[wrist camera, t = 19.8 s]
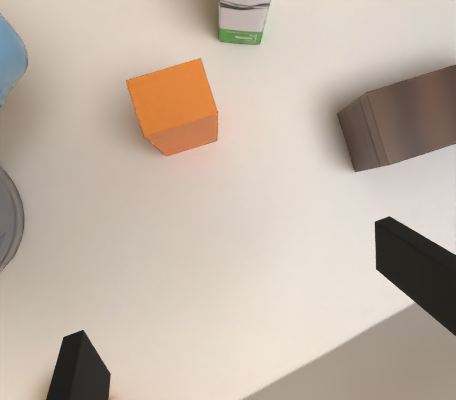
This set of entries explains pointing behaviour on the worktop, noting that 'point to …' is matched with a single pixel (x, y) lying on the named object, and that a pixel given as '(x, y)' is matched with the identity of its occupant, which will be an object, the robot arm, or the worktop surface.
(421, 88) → the shelf
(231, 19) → the ink box
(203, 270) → the worktop surface
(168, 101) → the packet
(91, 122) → the worktop surface
